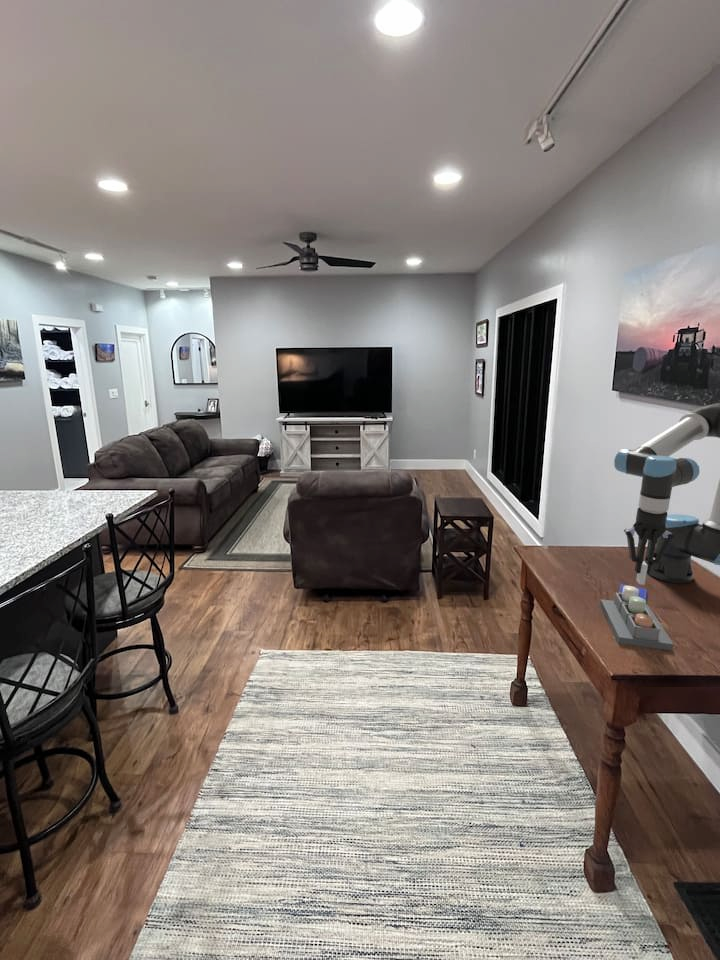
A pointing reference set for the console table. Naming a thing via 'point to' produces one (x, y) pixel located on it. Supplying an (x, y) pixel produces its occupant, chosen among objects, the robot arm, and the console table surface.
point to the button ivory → (629, 593)
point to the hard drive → (641, 591)
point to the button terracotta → (643, 620)
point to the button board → (634, 626)
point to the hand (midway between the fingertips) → (640, 582)
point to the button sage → (636, 605)
